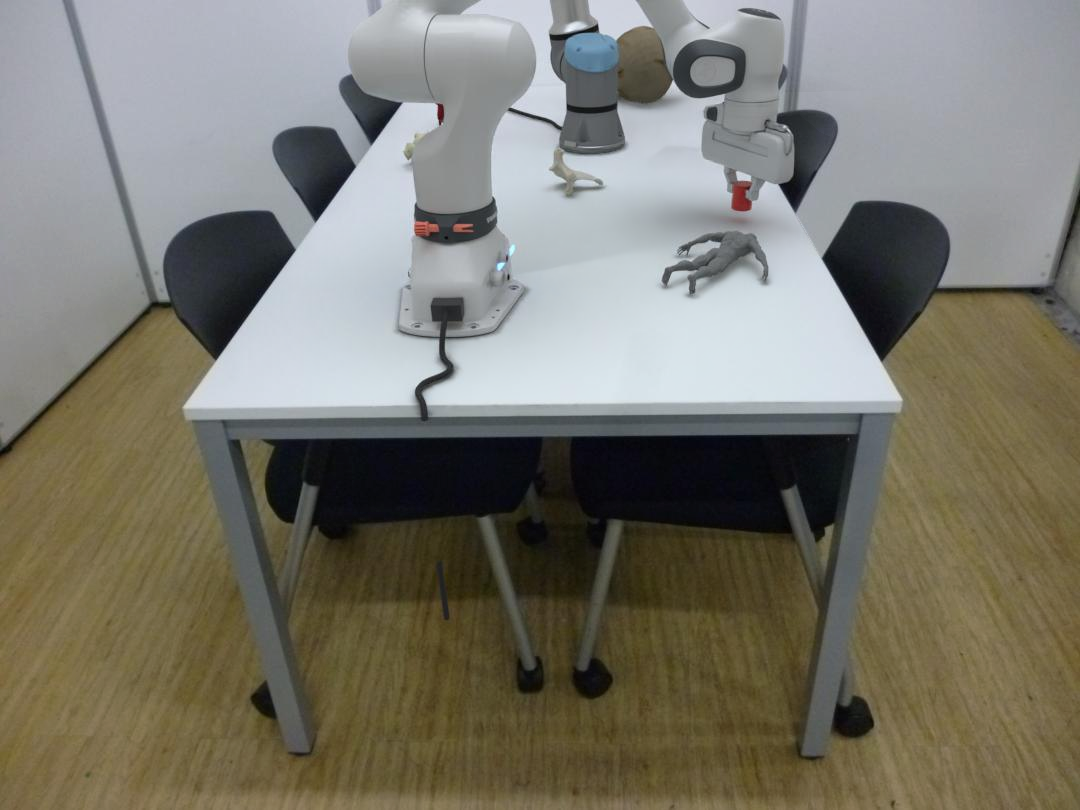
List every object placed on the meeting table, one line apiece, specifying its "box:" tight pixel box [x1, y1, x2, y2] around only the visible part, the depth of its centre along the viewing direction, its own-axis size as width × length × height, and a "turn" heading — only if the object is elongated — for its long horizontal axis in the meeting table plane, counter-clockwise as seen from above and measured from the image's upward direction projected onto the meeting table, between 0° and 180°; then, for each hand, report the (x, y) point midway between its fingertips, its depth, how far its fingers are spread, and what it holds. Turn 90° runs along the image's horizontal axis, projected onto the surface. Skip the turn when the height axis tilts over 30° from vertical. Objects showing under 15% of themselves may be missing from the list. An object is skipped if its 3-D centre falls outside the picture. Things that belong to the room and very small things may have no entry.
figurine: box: [661, 230, 769, 295], centre depth 130 cm, size 17×4×20 cm
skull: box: [615, 25, 674, 104], centre depth 227 cm, size 16×22×25 cm
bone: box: [547, 147, 604, 196], centre depth 167 cm, size 10×6×10 cm
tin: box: [730, 180, 753, 212], centre depth 147 cm, size 4×4×4 cm
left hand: (742, 196), depth 147 cm, fingers closed on tin, 3 cm apart
